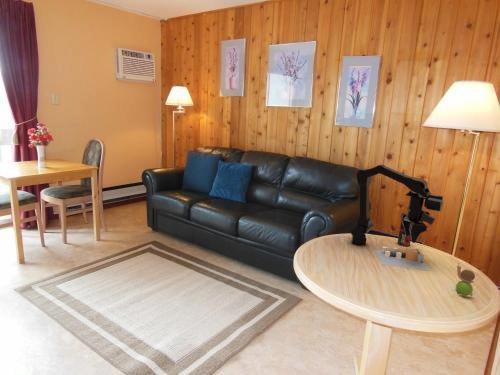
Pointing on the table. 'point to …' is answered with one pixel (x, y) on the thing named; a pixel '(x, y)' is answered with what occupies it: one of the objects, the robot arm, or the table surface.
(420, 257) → the bracket
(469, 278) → the snail figurine
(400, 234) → the deodorant
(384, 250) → the clips
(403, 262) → the board
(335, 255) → the table surface
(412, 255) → the plug
